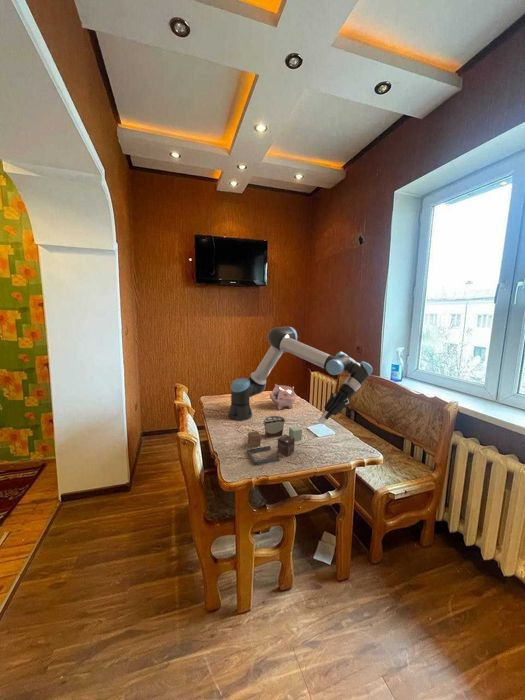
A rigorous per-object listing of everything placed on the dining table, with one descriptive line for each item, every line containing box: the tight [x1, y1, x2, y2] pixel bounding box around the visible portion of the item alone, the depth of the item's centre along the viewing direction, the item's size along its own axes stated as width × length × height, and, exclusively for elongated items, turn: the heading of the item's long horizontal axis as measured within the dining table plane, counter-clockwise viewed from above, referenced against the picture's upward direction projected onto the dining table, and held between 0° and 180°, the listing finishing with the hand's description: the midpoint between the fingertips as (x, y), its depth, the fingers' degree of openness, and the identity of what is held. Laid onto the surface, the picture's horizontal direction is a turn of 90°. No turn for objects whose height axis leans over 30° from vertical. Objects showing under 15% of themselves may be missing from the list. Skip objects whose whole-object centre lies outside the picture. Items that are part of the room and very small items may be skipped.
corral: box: [245, 445, 280, 466], centre depth 129 cm, size 11×12×2 cm
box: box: [276, 434, 295, 457], centre depth 133 cm, size 6×6×7 cm
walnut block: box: [247, 430, 262, 449], centre depth 140 cm, size 5×5×6 cm
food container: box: [262, 415, 286, 439], centre depth 151 cm, size 12×6×10 cm, turn 111°
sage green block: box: [288, 425, 303, 442], centre depth 147 cm, size 5×5×6 cm
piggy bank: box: [269, 383, 296, 410], centre depth 194 cm, size 15×18×16 cm
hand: (320, 422), depth 138 cm, fingers closed
